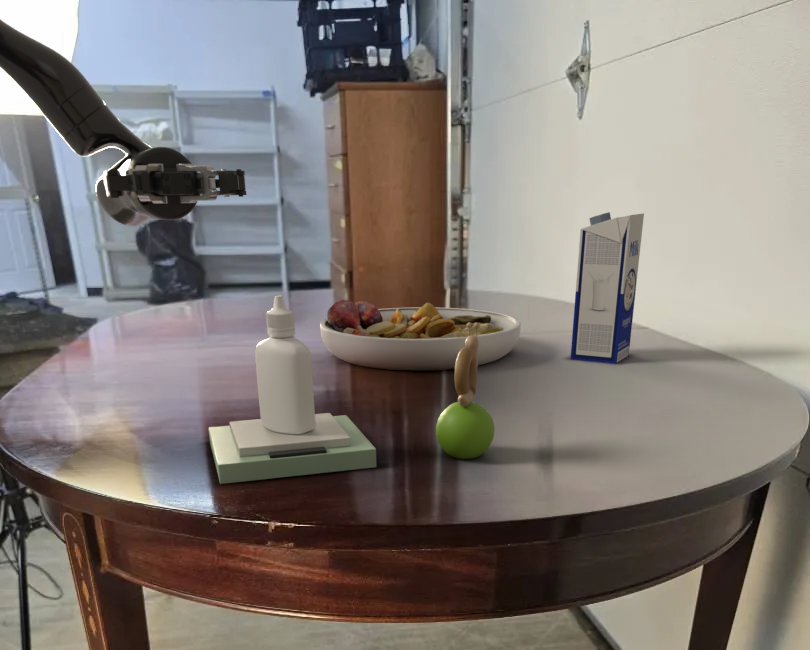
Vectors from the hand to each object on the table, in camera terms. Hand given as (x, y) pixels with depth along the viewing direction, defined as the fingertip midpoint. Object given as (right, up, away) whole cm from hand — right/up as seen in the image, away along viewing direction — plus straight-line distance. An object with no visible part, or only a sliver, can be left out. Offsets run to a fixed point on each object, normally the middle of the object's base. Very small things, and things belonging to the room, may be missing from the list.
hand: (189, 182), depth 77 cm
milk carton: (+50, -9, +37) cm, 63 cm away
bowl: (+24, -8, +41) cm, 48 cm away
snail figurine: (+27, -28, -4) cm, 39 cm away
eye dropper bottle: (+11, -25, -4) cm, 28 cm away
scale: (+11, -28, -3) cm, 30 cm away
